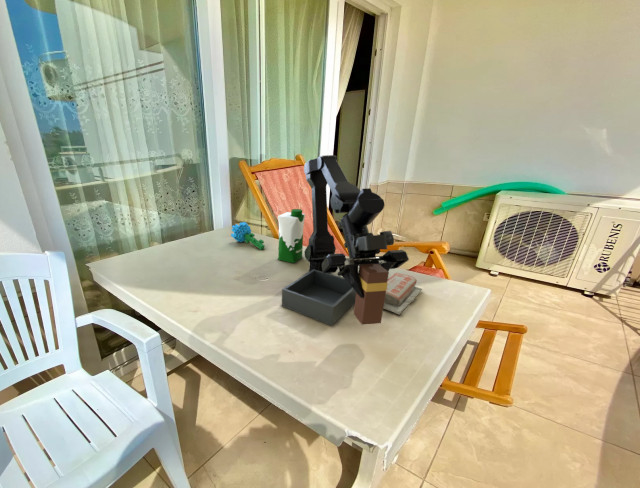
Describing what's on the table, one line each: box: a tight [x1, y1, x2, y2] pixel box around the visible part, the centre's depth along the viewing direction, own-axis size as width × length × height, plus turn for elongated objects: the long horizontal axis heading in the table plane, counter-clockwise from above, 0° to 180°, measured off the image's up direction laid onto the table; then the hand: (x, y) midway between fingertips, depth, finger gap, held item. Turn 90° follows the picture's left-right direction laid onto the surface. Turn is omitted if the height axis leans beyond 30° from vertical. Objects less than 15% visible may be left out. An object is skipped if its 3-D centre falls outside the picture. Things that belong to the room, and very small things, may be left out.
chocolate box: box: [353, 264, 390, 325], centre depth 69 cm, size 5×5×13 cm
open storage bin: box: [281, 269, 356, 327], centre depth 88 cm, size 18×16×6 cm
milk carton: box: [277, 208, 306, 264], centre depth 118 cm, size 9×9×20 cm
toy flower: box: [230, 221, 266, 250], centre depth 137 cm, size 9×9×18 cm
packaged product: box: [383, 272, 423, 316], centre depth 89 cm, size 18×5×10 cm
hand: (373, 296), depth 68 cm, fingers closed on chocolate box, 4 cm apart
